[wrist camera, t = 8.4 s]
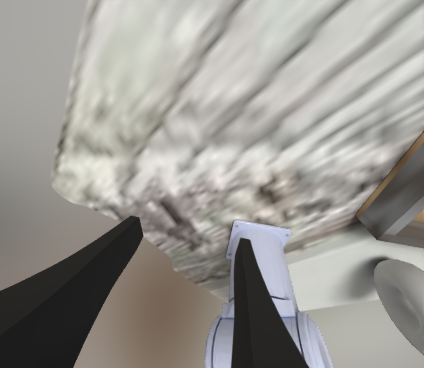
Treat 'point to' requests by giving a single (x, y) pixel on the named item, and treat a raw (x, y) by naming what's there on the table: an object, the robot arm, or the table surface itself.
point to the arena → (399, 202)
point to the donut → (403, 297)
